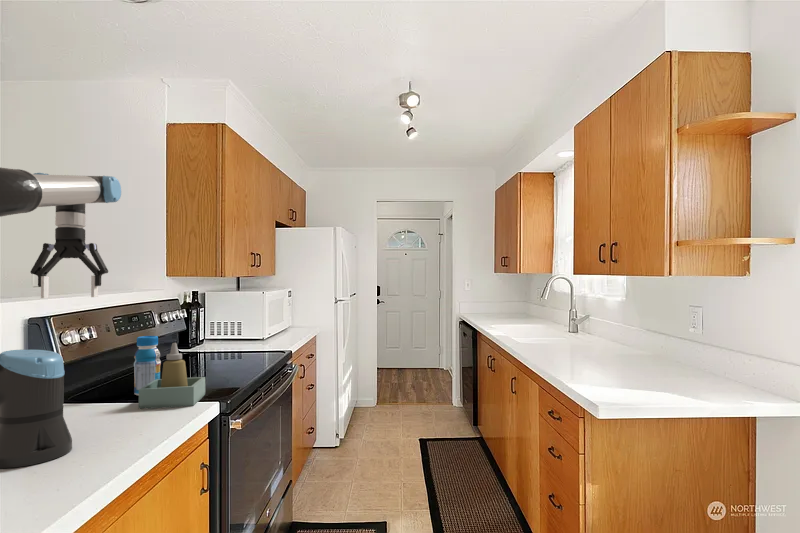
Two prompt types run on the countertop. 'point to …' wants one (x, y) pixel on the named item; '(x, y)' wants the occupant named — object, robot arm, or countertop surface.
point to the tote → (171, 394)
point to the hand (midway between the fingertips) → (69, 297)
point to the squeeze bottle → (174, 370)
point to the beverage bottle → (146, 362)
